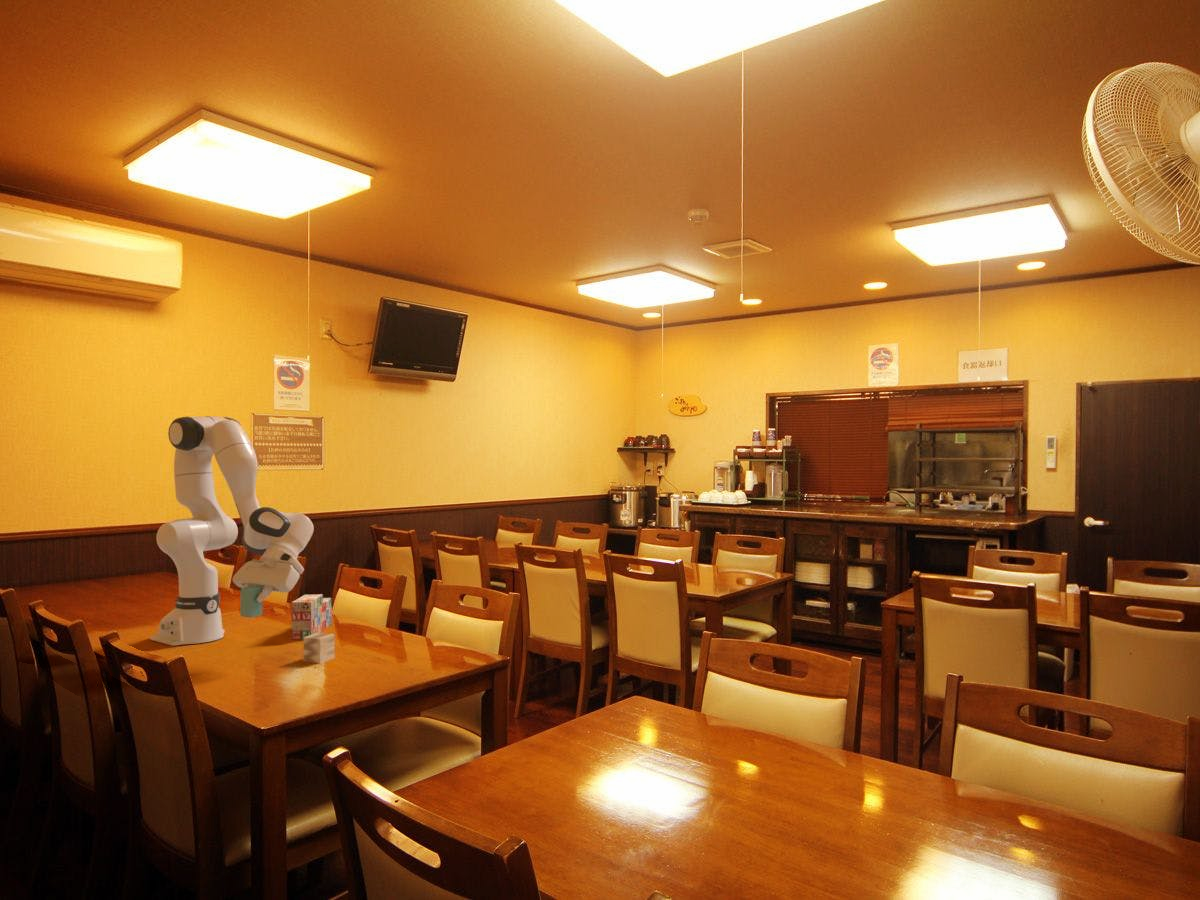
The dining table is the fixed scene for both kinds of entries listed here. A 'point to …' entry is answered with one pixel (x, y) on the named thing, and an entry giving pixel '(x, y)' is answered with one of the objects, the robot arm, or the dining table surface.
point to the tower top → (319, 642)
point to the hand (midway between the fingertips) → (249, 600)
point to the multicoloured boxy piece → (310, 615)
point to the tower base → (319, 655)
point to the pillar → (250, 601)
